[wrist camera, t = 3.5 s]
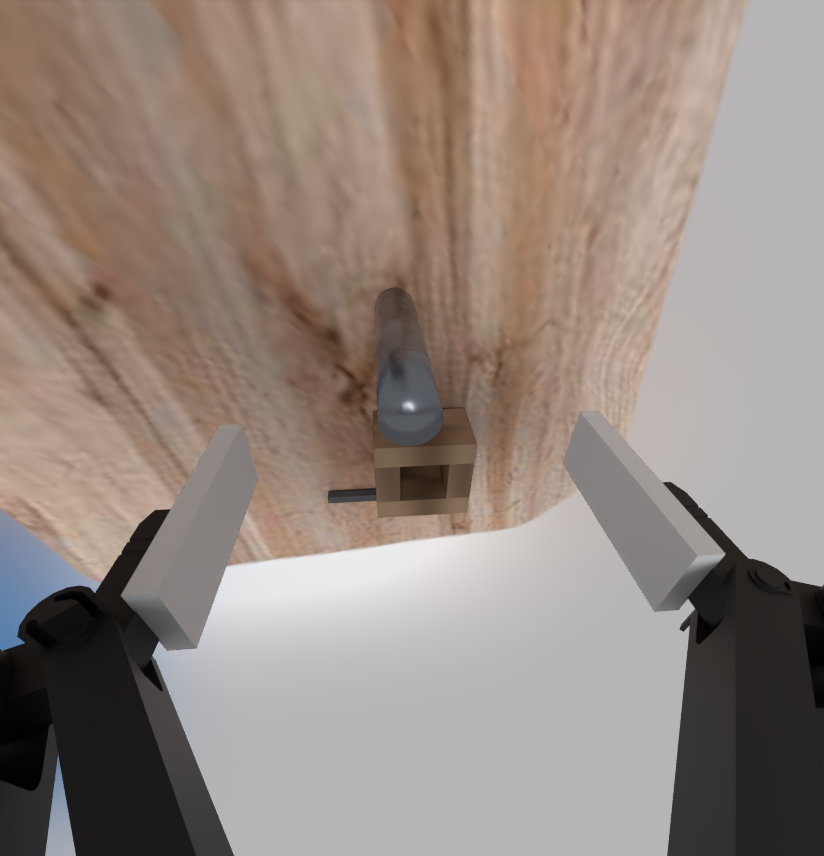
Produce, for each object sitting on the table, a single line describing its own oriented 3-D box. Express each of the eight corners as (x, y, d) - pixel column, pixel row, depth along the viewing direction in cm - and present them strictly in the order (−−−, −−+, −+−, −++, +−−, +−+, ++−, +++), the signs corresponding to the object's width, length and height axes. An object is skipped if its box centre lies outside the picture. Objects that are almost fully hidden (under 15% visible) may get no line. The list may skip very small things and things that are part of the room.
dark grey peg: (376, 326, 27) (379, 447, 16) (374, 288, 26) (375, 392, 15) (413, 326, 28) (441, 444, 16) (414, 287, 26) (445, 390, 15)
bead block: (377, 477, 37) (377, 517, 33) (373, 411, 32) (373, 448, 28) (456, 473, 37) (466, 512, 33) (464, 408, 32) (477, 444, 29)
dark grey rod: (329, 497, 38) (328, 503, 37) (328, 491, 37) (327, 497, 37) (463, 489, 39) (465, 495, 38) (464, 484, 38) (466, 490, 38)
